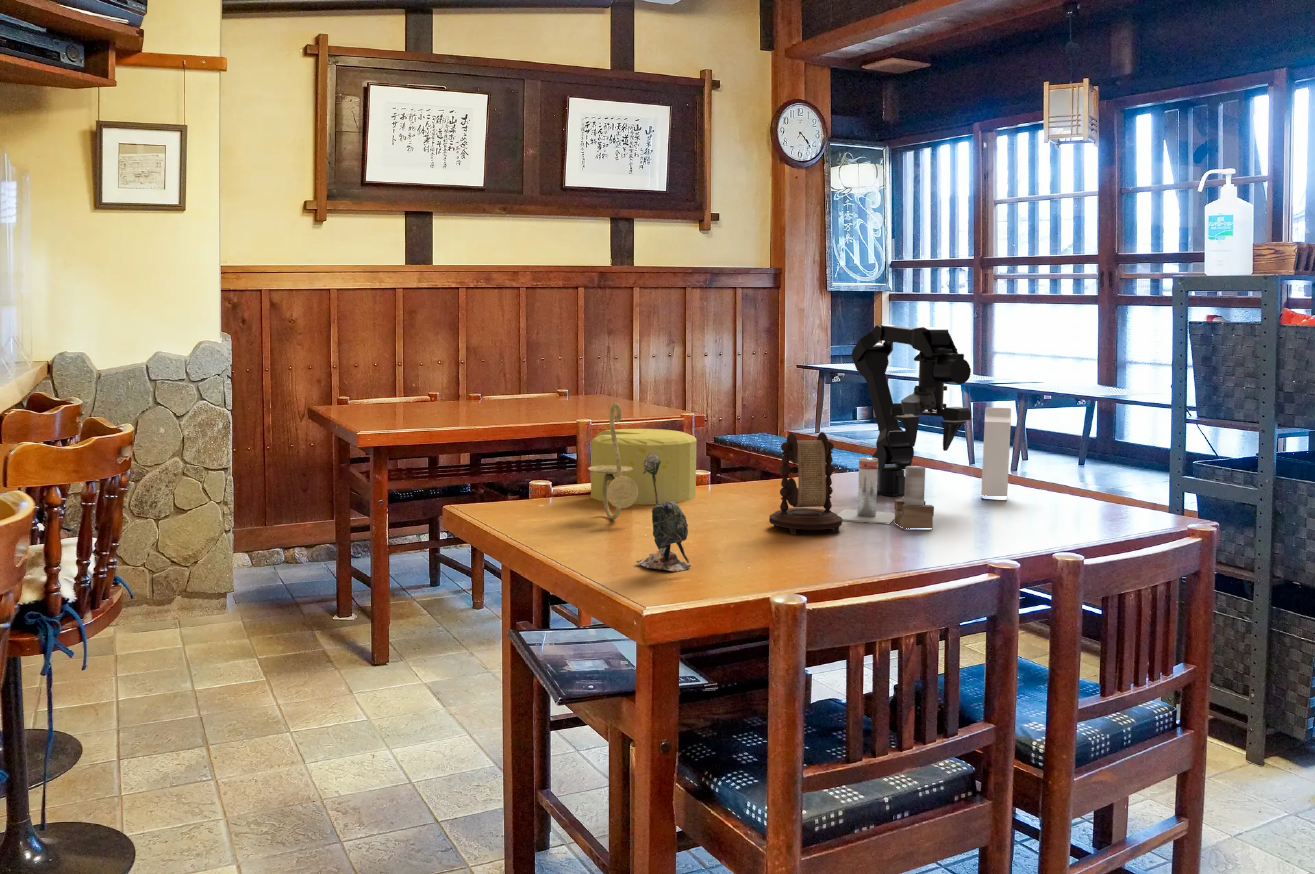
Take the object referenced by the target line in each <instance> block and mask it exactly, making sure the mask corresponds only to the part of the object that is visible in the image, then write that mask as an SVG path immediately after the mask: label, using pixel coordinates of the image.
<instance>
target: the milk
mask: <svg viewBox="0 0 1315 874" xmlns="http://www.w3.org/2000/svg"><path fill="white" fill-rule="evenodd" d="M1011 423H1012V409H1011V408H1010V407H989V406H986V407H985V409H984V427H983V428H984V429H983V447H982V449H983V450H982V451H983V452H982V453H983V454H982V472H981V490H980V491H981V492H980V493H981V495H984V496H985V495H987V496H1007V497H1008V489H1009V488H1008V487H1009V486H1008V485H1009V484H1008V483H1009V464H1010V444H1011V427H1012V426H1011ZM981 495H980V496H981Z"/></svg>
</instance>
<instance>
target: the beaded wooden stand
mask: <svg viewBox="0 0 1315 874" xmlns="http://www.w3.org/2000/svg"><path fill="white" fill-rule="evenodd" d="M780 448H781V449H780V450H782V452H781V454H782V455H783V456H782V458H781V464H782V465H780V467H779V473H780V474H781V477H782V480H781V482H780V485H781V488H780V490H779V495H780V496H782V497H780V500H781V503H780V505H779V508H780V510H777V511H774V512H773V513H771V514H769V518H768V519H769V520H768V521H769V524H771V525H772V526H774V527H780V528H785V529H789V532H790V534H791V536H795V534H796V531H797V530H807V531H808V530H817V531H818V530H830V529H833V531H834V533H835V534H838V533H839V530H840V527H841V526H842V525H843V521H842V518H841V517H840V516H838V514H837V513H835V512H833V511H831V509H832V501H831V498H832V496H831V495H832V494H833V492H834V491H833V490H834V489H833V487H832V486H831V485H832V484H833V482H832V477H831V476H833V473H834V471H835V466H834V464H832V462H833V461H834V460H833V456H832V454H833V453H834V451H833V449H834V448H835V444H834V443H833V441H831V440H829V438H828V437H827V434H826V433H825V432H819V433H818V435H817V438H816V439H812V440H807V439H805V440H803V439H802V440H798V438H797V436H796V434H795V433H794V432H790V433H789V434H788V435H787V437H786V441H784V442H783V443H781V444H780ZM790 461H791V462H792V464H793V465H795V464H796V465H797V466H792V467H791V466H790V465H789V464H790ZM791 473H792V474H797V476H798V477H797V478H798V483H796V480H795V479H794V477H789V476H790V474H791ZM797 484H798V486H797ZM788 504H789V505H790V506H792V507H793V508H792V507H791V508H789V505H788ZM813 507H814V508H813ZM816 507H817V508H816ZM818 507H819V508H818ZM821 507H823V509H820V508H821Z"/></svg>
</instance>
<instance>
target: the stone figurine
mask: <svg viewBox="0 0 1315 874" xmlns="http://www.w3.org/2000/svg"><path fill="white" fill-rule="evenodd" d="M643 463H644V464H643V465H644V467H645V471H644V472H643V474H645V473H646V472H648V473H650V474H652V478H653V483H654V488H655V498H656V504H655V505H654V507H652V509H651V510H652V511H651V514H652V515H651V521H652V522H651V523H652V536H653V537H654V544H655V545H656V547H657V549H658V551H652V552H650V553H649V555H648V557H647V558H643V559H640V560H636V563H637V564H639V565H640V566H643V567H645V568H646V569H654V570H655V569H656V570H659V571H660V570H664V571H670V572H674V573H676V572H679V571H681V572H682V571H686V570H688V569H690V567H692V565H691V564H689V563H690V562H691V561H690V559H689V558H688V556H687V555H686V553H685V549H684V546H683V544H682V542H685V541H686V540H687V539H688V534H689V530H688V529H689V528H688V526H689V524H688V523H687V517H686V515H685V513H684V511H683V510H682V508H681V507H680V506H679V504H677V503H678V502H677V503H675V502H674V501H669V502H662V503H658V501H657V491H656V485H655V483H656V478H655V475H656V474H657V472H658V470H659V469H658V468H659V464H660V463H661V462H660V460H659V458H658V457H657V455H655V454H654V453H649V454H648V456H647V457H646V460H645V461H644V462H643ZM672 544H676V545H677V546H678V548H679V550H680V553H681V555H682V556H683V558H684V560H685V561H686V562H684V561H683V560H680V559H679V558H678V556H677V554H676V553H675V552H673V551H672V550H671V547H672Z"/></svg>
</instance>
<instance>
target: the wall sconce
mask: <svg viewBox="0 0 1315 874" xmlns="http://www.w3.org/2000/svg"><path fill="white" fill-rule="evenodd" d="M609 409H610V411H609V430H610V431H611V436H612V442H613V447H614V453H615V459H616V465H602V466H592V467H591V466H589V467H587V469H588V471H590V473H591V472H595V473H602V474H606V475H605V476H604V480H603V501H602V502H603V507H604V511H605V513H606V514H605V515H606V516H607V517H608V518H609V519H610V520H611V521H613V520H614V521H615V520H617V519H618V518H619V516H620V514H621V511H622V509H627V508H629V507H631V506H632V505H634V504H633V503H634V502H635V501H636V499H637V496H638V487H637V485H636V483H635V481H634V480H632V479H631V478H629V477H626V476H622V473H627V472H630V471H632V469H633V468H631V467H627V466H621V463H620V455H619V449H618V444H617V439H616V433H615V430H616V429H615V423H619V422H621V420H622V408H621V406H620V404H619V403H618V402H613V403H612V404H611V406H610V408H609ZM615 412H616V415H615ZM613 474H617V478H615V477H614V476H613ZM608 480H611V482H610V481H609V483H608V488H607V482H608ZM607 498H608V500H609V502H608V501H607ZM609 504H611V506H613V507H615V508H616V509H615V511H614V514H613V513H612V512H611V510H610V506H609Z"/></svg>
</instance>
